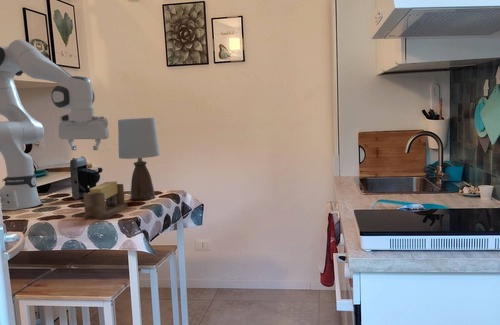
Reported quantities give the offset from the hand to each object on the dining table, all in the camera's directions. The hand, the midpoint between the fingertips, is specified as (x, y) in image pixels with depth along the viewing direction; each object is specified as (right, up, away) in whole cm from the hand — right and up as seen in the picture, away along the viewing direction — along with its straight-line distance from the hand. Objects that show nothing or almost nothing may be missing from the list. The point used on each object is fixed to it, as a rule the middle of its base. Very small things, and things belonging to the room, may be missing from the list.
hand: (84, 150), depth 192 cm
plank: (+9, -19, -2) cm, 21 cm away
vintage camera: (-9, -22, +34) cm, 42 cm away
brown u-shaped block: (+9, -26, -2) cm, 27 cm away
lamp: (+18, -22, +27) cm, 39 cm away
